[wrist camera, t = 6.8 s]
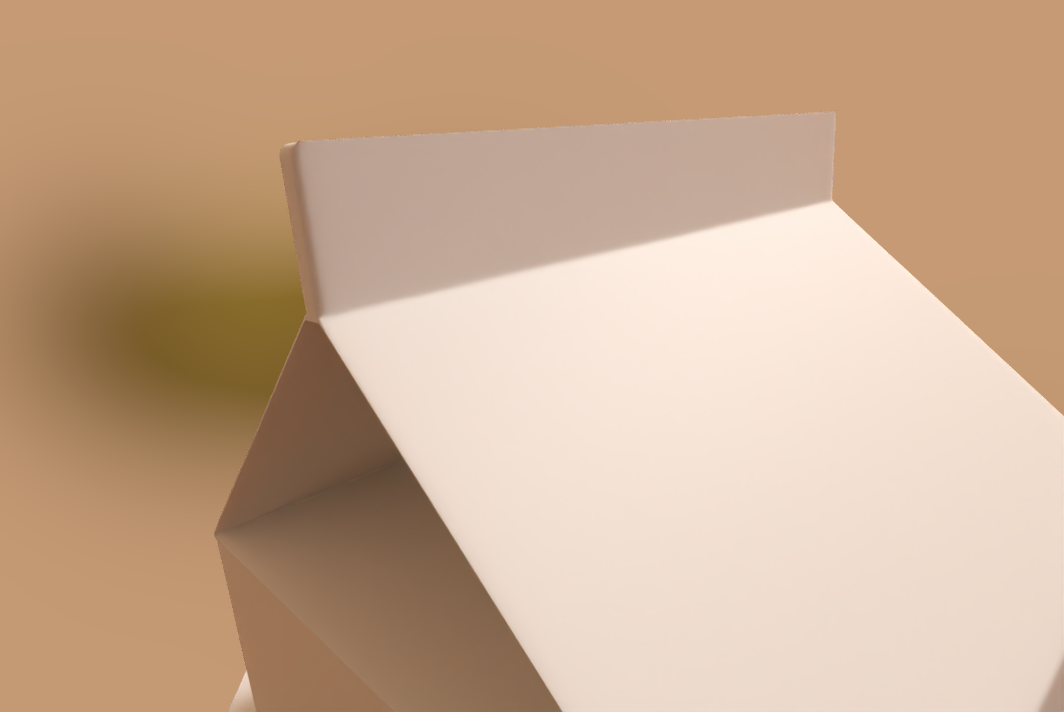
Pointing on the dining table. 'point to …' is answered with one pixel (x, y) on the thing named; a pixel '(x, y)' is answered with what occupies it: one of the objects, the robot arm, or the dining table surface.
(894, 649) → the milk carton
